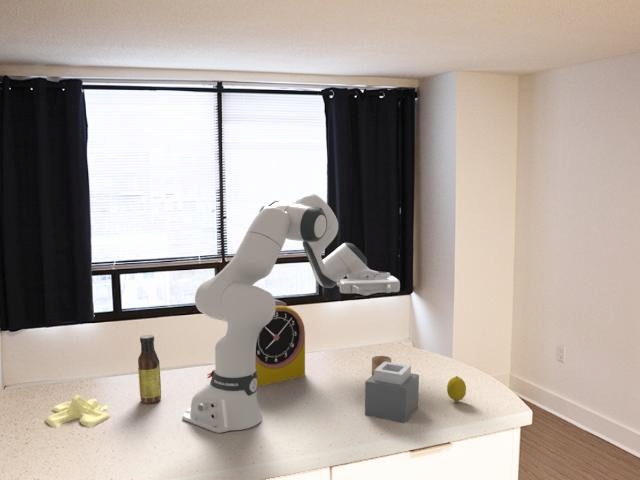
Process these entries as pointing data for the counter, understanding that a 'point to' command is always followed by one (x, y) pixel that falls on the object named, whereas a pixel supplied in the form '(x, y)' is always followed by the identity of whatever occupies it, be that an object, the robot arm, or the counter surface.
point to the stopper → (379, 361)
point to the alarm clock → (281, 347)
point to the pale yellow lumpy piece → (78, 412)
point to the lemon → (456, 388)
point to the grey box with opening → (392, 392)
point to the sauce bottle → (149, 371)
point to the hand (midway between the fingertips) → (374, 290)
